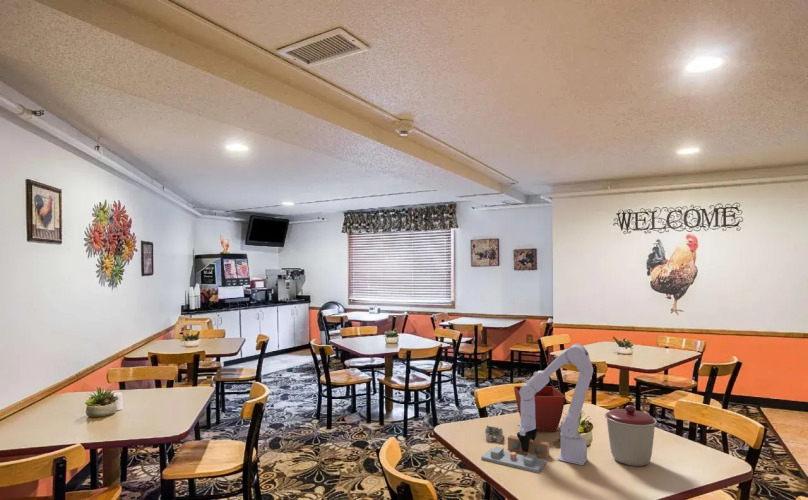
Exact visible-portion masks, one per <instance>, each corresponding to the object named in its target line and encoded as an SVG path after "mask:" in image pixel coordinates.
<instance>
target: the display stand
mask: <svg viewBox="0 0 808 500" xmlns="http://www.w3.org/2000/svg"><path fill="white" fill-rule="evenodd" d="M480 458H481V460H482V461H487V462H492V463H494V464H495V463H496V464H500V465H504V466H508V467H511V468H516V469H521V470H525V471H529V472H532V473H533V472H534V473H537V474H538V473H540V472H541V470H542V468H543V467H545V465H546V463H547V460H546V459H545V460H544V459H542V458H541V459H540V458H537V455H533V454H528V453H527V454H526V455H522V454H520V453H519V454H517V452H516V451H512V452H509V451H504V447H500V446H494V448H490V449H489V450H487V452H485V453H484V454H483V455H482V456H481V457H480Z"/></svg>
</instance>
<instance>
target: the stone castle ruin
mask: <svg viewBox="0 0 808 500" xmlns="http://www.w3.org/2000/svg"><path fill="white" fill-rule="evenodd" d="M484 431H485V432H484V433H485V438H486V439H485V440H486V441H488V442H497V443H500V442H503V434H504V433H503V432H504V431H503V428H501V427H500V428H499V427H498V426H497V427H496V426H490V425H486V427H485V430H484ZM490 434H491V435H490Z"/></svg>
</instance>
